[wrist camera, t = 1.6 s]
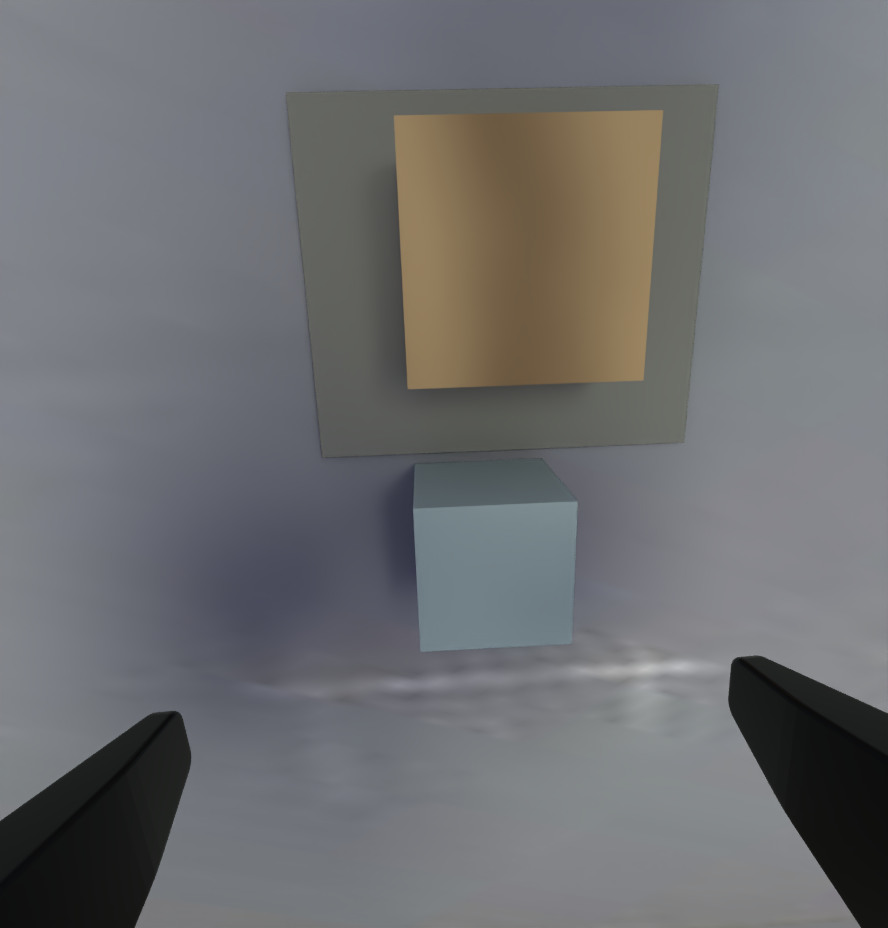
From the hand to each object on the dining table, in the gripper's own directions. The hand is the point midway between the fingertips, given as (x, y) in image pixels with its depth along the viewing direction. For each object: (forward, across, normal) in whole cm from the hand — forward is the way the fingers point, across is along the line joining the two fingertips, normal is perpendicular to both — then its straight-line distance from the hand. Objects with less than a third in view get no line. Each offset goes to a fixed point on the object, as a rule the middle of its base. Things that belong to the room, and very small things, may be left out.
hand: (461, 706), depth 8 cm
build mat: (+12, -3, -7) cm, 15 cm away
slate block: (+13, -2, +2) cm, 13 cm away
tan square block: (+12, -3, -8) cm, 15 cm away
